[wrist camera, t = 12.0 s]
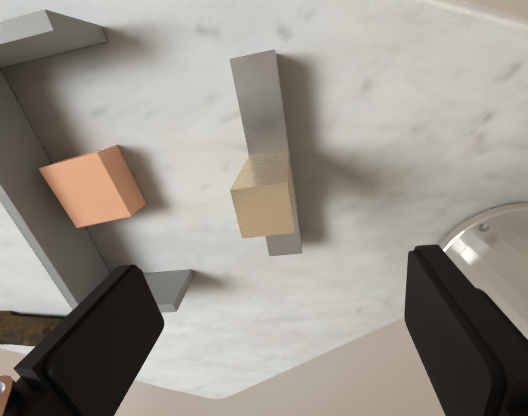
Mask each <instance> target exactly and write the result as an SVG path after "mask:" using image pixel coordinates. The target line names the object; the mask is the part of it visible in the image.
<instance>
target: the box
mask: <svg viewBox="0 0 528 416" xmlns="http://www.w3.org/2000/svg"><path fill="white" fill-rule="evenodd" d="M104 42H107V39H106V37H105V34H104V31H103V29H102V26H100V25H96V24H93V23H89V22H86V21H82V20H79V19H76V18H72V17H69V16H65V15H62V14H58V13H55V12H51V11H48V10H41V11H38V12H34V13H31V14H27V15H23V16H20V17H16V18H13V19H9V20H6V21H2V22H0V68H2V67H6V66H10V65H14V64H18V63H22V62H26V61H30V60H34V59H39V58H43V57H47V56H51V55H55V54H59V53H63V52H67V51H71V50H75V49H79V48H83V47H87V46H91V45H95V44H99V43H104ZM50 164H51V162H50V160H49V158H48V156H47V155H46V153H45V151H44V149H43V147H42V145H41V143H40V142H39V140H38V138H37V136H36V134H35V132H34V130H33V129H32V127H31V125H30V123H29V121H28V119H27V117H26V116H25V114H24V112H23V110H22V108H21V106H20V104H19V103H18V101H17V99H16V97H15V95H14V93H13V91H12V90H11V88H10V86H9V84H8V82H7V80H6V78H5V77H4V75H3V73H2V71H1V69H0V202H1V203H2V205H3V206H4V208H5V209H6V211H7V212H8V214H9V215H10V217H11V218H12V220H13V221H14V223H15V224H16V226H17V227H18V229H19V230H20V232H21V233H22V235H23V236H24V238H25V239H26V241H27V242H28V244H29V245H30V247H31V248H32V250H33V251H34V253H35V254H36V256H37V257H38V259H39V260H40V262H41V263H42V265H43V266H44V268H45V269H46V271H47V272H48V274H49V275H50V277H51V278H52V280H53V281H54V283H55V284H56V286H57V287H58V289H59V290H60V292H61V293H62V295H63V296H64V298H65V299H66V301H67V302H68V304H69V305H70V307H71V308H72V310H74V309H75V308H76V307H77V306H78V305H79V304H80V303H81V302H82V301H83V300H84V299H85V298H86V297H87V296H88V295H89V294H90V293H91V292H92V291H93V290H94V289H95V288H96V287H97V286H98V285H99V284H100V283H101V282H102V281H103V280H104V279H105V278H106V277H107V276H108V275H109V274H110V272H109V270H108V268H107V266H106V264H105V262H104V260H103V259H102V257H101V255H100V253H99V251H98V249H97V247H96V246H95V244H94V242H93V240H92V238H91V236H90V234H89V233H88V231H87V229H86V227H85V226H84V227H79V228H76V226H75V225H74V223H73V222H72V220H71V218H70V217H69V215H68V214H67V212H66V211H65V209H64V208H63V206H62V204H61V203H60V201H59V200H58V198H57V197H56V195H55V194H54V192H53V191H52V189H51V187H50V186H49V184H48V183H47V181H46V180H45V178H44V177H43V175H42V174H41V172H40V170H39V169H38V168H41V167H44V166H47V165H50ZM144 277H145V279H146V281H147V283H148V286H149V288H150V290H151V292H152V295H153V297H154V299H155V301H156V303H157V306H158V308H159V310H160V312H161V313H162V312H177V310H178V308H179V306H180V304H181V302H182V300H183V298H184V296H185V293H186V291H187V289H188V287H189V285H190V283H191V281H192V279H193V277H194V276H193V273H192V270H181V271H169V272H157V273H145V274H144Z"/></svg>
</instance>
